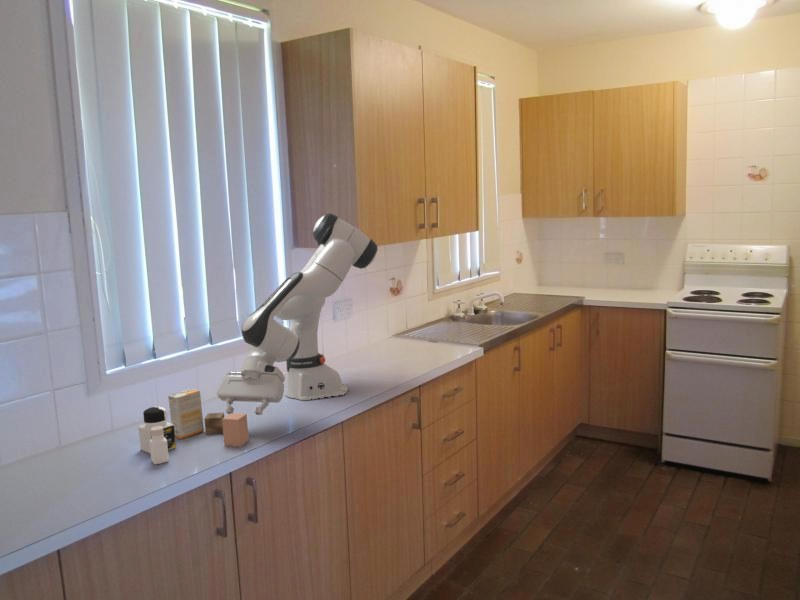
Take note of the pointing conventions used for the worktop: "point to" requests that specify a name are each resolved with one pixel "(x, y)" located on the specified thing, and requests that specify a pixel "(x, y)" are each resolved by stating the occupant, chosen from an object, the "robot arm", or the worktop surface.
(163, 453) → the pepper shaker
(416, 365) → the worktop surface
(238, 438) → the terracotta block
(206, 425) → the walnut block
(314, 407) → the worktop surface
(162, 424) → the medicine bottle
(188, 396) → the supplement box
